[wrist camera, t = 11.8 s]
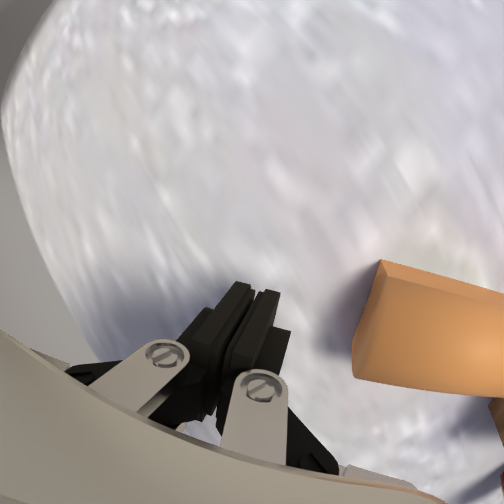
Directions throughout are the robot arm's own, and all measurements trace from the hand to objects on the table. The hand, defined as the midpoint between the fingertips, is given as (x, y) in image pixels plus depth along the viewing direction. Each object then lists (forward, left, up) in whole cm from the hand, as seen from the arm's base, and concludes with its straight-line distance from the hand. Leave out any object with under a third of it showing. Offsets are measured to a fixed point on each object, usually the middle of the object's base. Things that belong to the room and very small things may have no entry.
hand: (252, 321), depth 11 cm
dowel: (0, -11, -5) cm, 12 cm away
